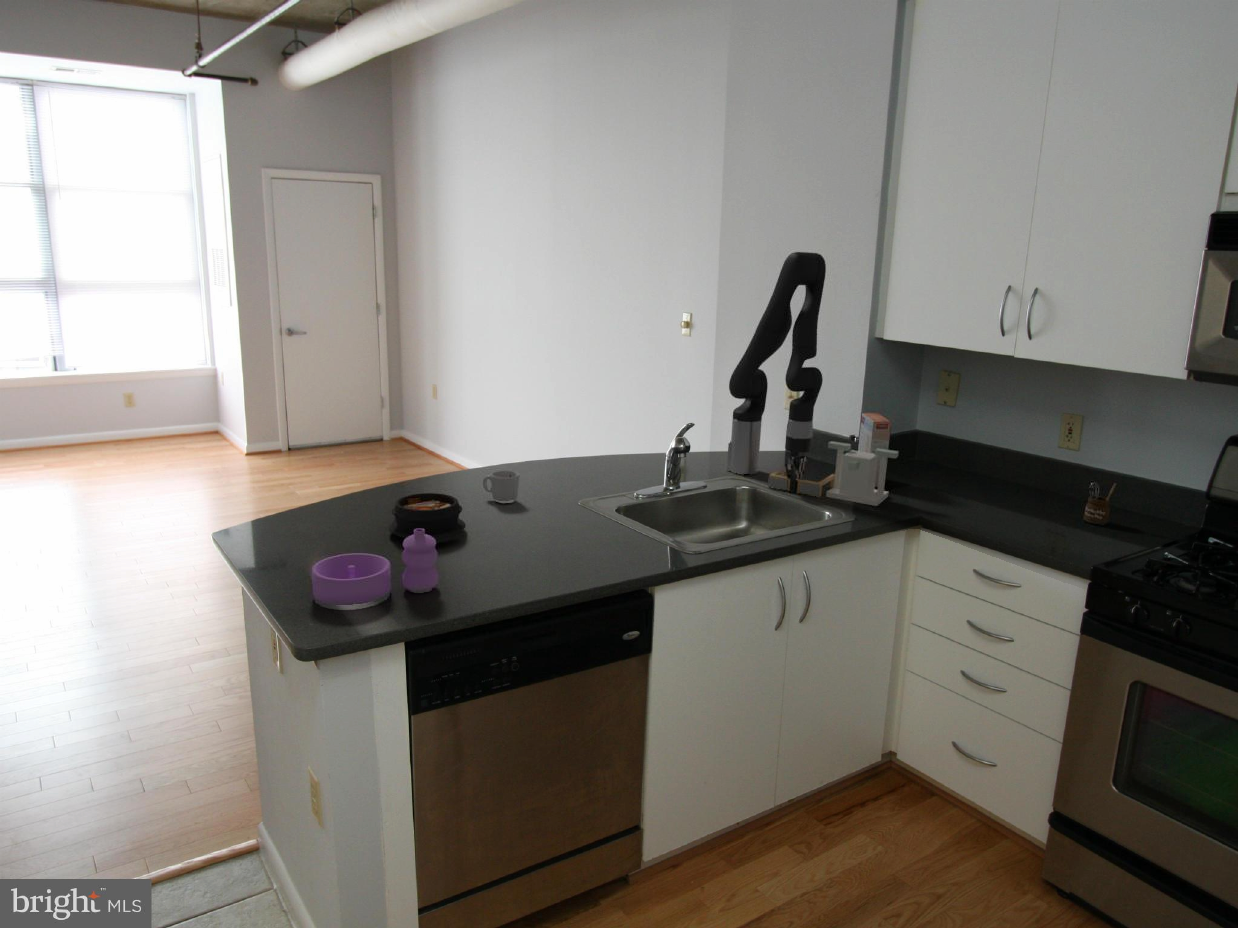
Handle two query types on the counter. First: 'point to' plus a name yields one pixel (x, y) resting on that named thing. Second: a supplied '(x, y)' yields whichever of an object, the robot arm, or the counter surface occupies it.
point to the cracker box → (874, 436)
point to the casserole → (428, 516)
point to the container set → (374, 573)
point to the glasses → (799, 483)
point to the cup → (503, 485)
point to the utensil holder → (1098, 508)
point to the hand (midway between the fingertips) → (794, 490)
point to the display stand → (859, 474)
